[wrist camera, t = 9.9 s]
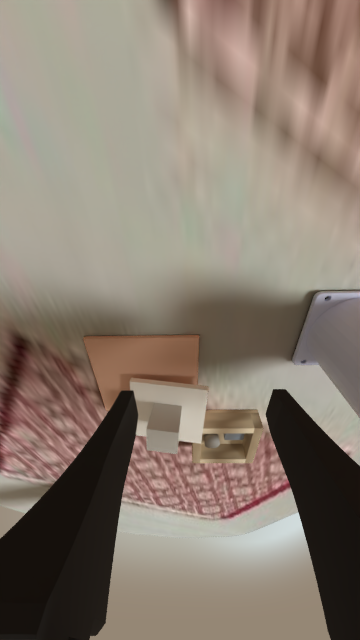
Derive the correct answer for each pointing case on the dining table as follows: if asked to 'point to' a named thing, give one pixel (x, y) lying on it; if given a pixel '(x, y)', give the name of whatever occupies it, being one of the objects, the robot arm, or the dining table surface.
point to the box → (228, 437)
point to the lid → (169, 413)
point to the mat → (141, 361)
